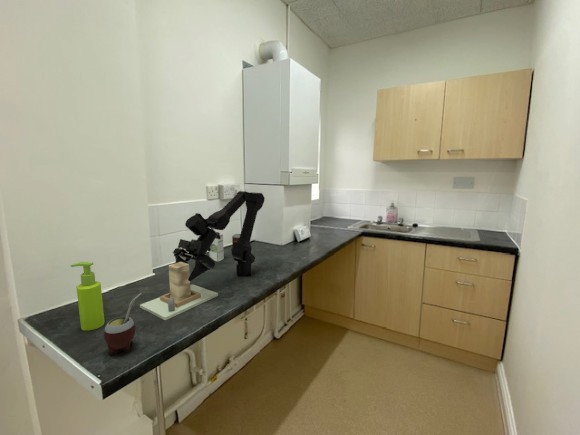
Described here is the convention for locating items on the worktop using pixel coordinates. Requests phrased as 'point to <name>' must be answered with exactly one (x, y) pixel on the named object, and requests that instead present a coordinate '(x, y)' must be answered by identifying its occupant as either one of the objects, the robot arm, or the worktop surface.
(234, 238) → the soda can
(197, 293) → the seat plate
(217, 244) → the syrup box
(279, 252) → the worktop surface
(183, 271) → the pine post
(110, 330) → the mate gourd
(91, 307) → the soap dispenser
